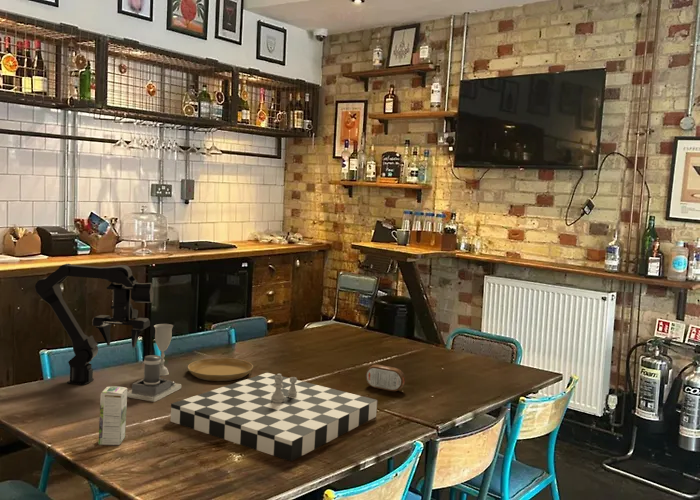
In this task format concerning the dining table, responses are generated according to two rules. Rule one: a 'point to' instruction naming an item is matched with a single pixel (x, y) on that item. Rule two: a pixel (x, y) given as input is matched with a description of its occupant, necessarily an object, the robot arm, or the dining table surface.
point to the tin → (385, 377)
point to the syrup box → (112, 415)
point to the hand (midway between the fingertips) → (121, 346)
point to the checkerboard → (275, 414)
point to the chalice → (163, 342)
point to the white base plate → (152, 390)
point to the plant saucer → (220, 369)
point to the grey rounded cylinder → (152, 370)
